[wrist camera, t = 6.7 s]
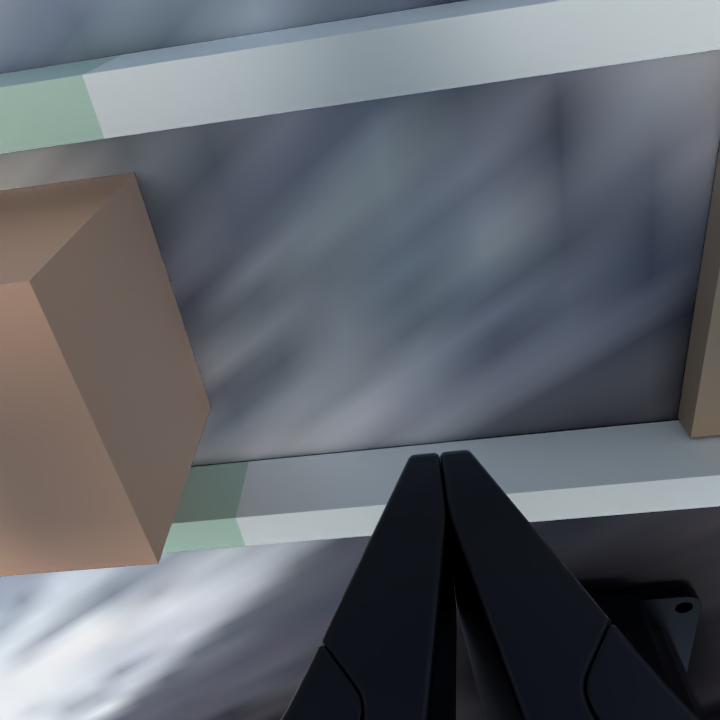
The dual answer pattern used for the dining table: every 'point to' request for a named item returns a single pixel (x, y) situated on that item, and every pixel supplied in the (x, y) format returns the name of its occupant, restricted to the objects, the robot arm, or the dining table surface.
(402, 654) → the robot arm
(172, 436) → the block
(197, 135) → the dining table surface
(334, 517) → the trap lane
